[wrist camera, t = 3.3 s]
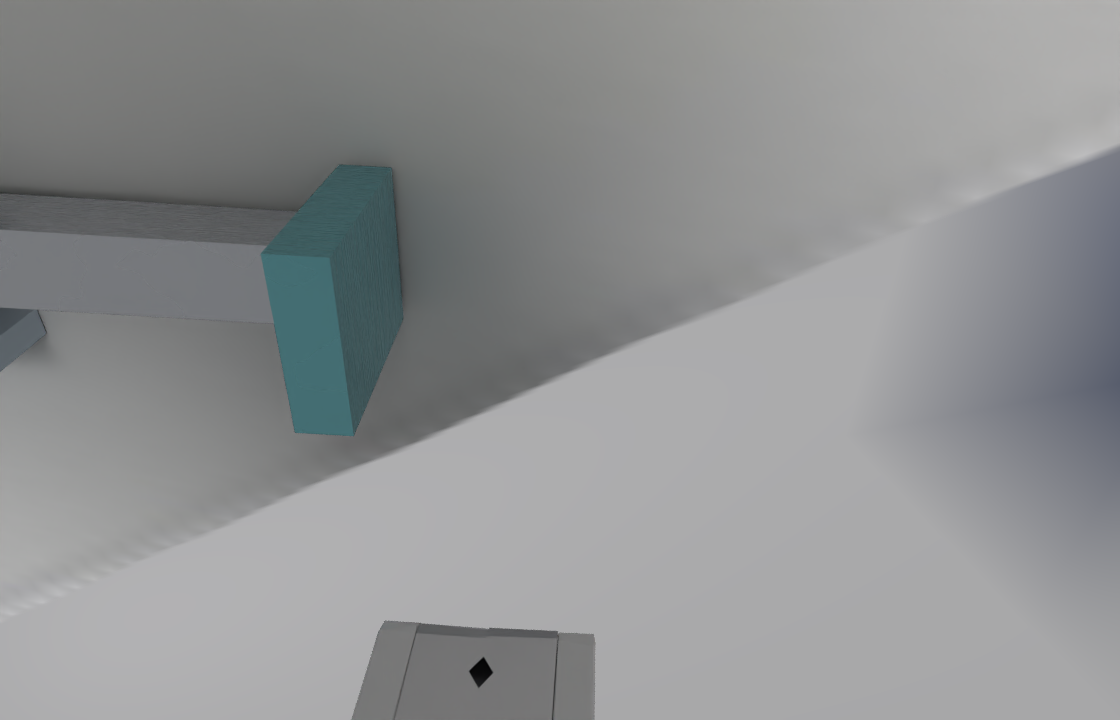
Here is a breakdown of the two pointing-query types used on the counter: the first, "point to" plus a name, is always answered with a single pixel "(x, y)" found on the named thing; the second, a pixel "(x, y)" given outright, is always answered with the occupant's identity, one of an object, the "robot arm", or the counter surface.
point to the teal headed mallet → (231, 276)
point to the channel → (18, 332)
